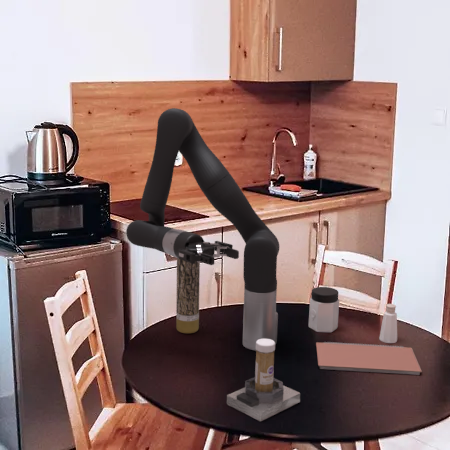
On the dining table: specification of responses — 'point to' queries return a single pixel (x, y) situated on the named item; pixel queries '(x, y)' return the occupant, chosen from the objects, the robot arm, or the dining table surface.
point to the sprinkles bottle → (264, 365)
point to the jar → (324, 309)
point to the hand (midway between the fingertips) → (225, 258)
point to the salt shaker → (389, 325)
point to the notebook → (367, 358)
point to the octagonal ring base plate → (263, 399)
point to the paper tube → (187, 296)
